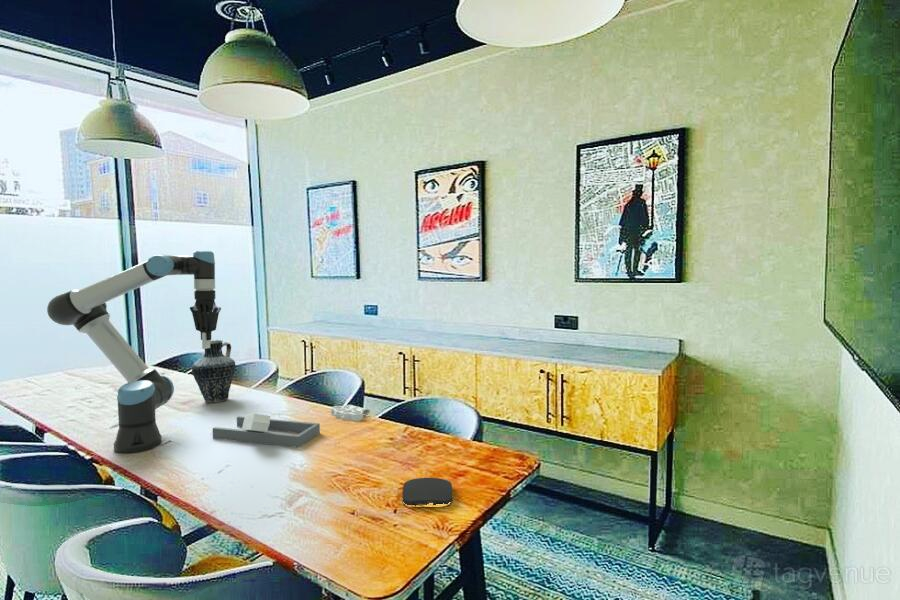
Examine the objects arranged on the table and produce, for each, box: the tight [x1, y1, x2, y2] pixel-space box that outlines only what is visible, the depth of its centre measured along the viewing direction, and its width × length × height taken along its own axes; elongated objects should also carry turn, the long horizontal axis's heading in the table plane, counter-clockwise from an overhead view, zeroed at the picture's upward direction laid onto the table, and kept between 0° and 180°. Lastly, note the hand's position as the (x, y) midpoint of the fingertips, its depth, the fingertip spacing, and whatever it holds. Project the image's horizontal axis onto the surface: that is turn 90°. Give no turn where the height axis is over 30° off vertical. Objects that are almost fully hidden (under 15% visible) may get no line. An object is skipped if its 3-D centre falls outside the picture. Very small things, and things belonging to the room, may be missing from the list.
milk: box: [241, 413, 271, 432], centre depth 191 cm, size 6×6×22 cm
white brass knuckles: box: [330, 404, 371, 422], centre depth 223 cm, size 3×18×15 cm
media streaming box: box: [402, 477, 453, 506], centre depth 146 cm, size 15×15×3 cm
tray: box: [212, 415, 321, 448], centre depth 196 cm, size 16×38×4 cm, turn 76°
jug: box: [191, 339, 236, 403], centre depth 244 cm, size 21×19×30 cm
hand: (206, 348), depth 197 cm, fingers closed
